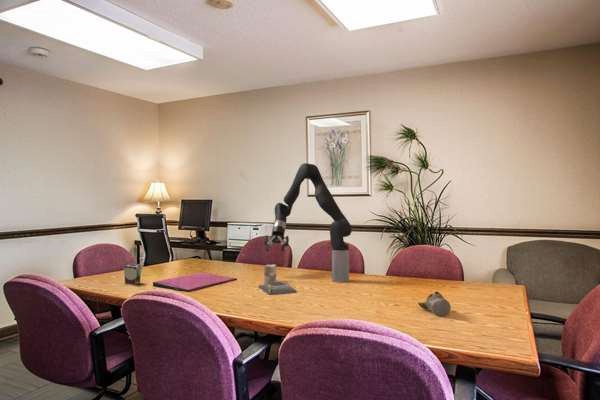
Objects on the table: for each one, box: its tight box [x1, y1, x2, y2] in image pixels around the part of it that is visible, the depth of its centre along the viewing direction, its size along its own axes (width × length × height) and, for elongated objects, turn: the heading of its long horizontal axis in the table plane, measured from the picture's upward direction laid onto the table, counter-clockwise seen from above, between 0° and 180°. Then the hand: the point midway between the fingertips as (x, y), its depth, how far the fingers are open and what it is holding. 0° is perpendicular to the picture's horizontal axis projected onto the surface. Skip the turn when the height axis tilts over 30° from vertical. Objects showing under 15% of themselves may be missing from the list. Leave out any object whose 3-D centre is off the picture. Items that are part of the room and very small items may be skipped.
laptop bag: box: [152, 272, 238, 293], centre depth 217 cm, size 40×4×27 cm
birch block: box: [263, 264, 277, 284], centre depth 220 cm, size 5×7×9 cm
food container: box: [122, 263, 143, 286], centre depth 218 cm, size 12×6×10 cm, turn 58°
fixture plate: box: [258, 280, 297, 296], centre depth 200 cm, size 14×18×4 cm
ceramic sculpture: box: [417, 291, 452, 317], centre depth 158 cm, size 11×9×15 cm
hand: (274, 250), depth 232 cm, fingers open, 8 cm apart
